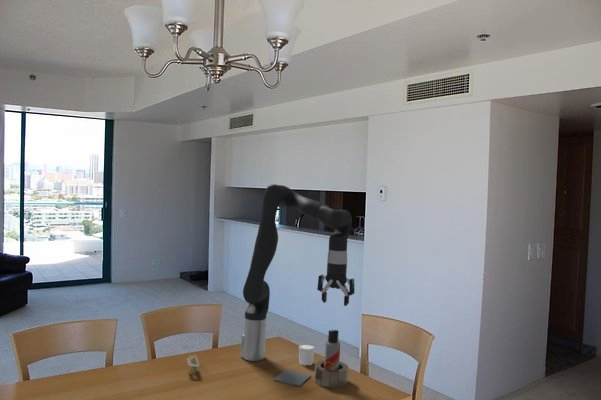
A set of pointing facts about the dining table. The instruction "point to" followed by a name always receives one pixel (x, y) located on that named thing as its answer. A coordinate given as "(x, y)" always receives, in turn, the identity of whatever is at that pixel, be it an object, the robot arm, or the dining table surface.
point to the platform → (194, 364)
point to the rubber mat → (292, 377)
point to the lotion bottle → (332, 351)
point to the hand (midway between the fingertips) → (335, 303)
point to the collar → (331, 375)
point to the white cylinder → (306, 354)
